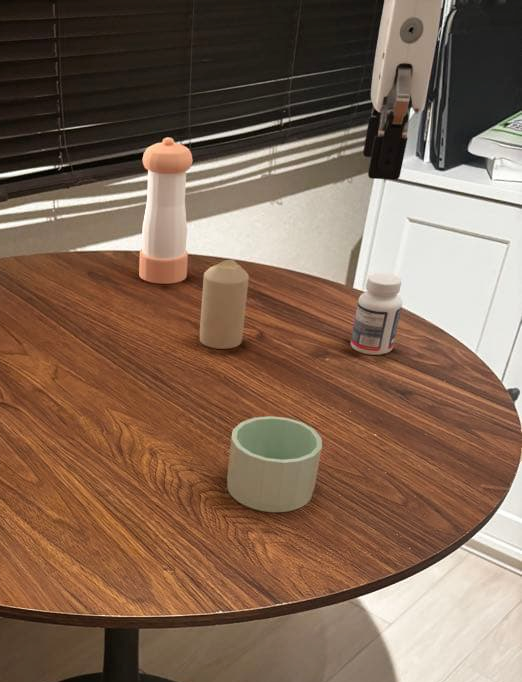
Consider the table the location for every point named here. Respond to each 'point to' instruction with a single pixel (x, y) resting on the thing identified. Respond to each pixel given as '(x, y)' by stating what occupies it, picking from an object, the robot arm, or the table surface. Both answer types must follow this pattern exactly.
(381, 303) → the pill bottle
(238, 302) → the candle
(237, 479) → the cup
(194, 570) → the table surface
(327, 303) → the table surface
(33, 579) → the table surface
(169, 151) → the pepper shaker
